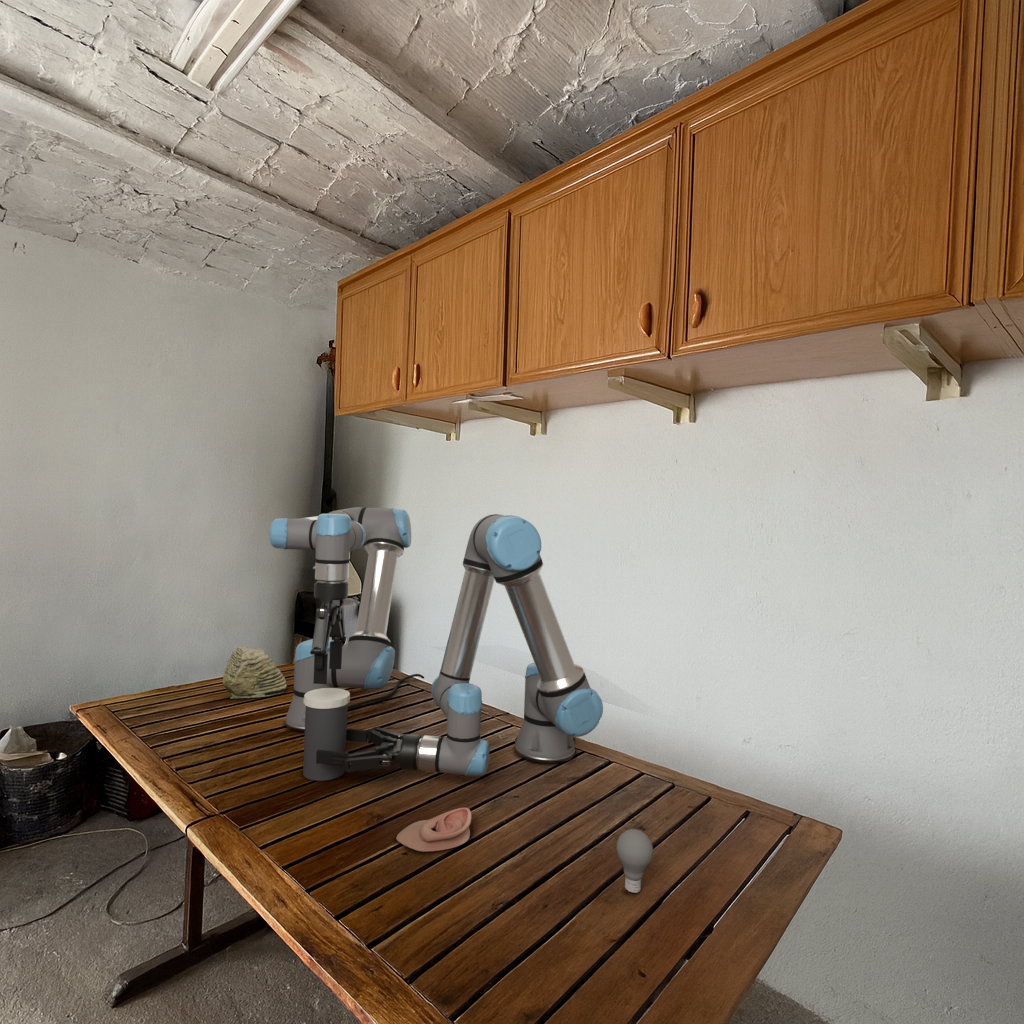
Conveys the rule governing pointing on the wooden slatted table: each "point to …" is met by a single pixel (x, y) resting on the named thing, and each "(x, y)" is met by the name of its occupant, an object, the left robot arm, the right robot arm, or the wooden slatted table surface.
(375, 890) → the wooden slatted table surface
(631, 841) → the light bulb
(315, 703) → the lid
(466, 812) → the anatomical model
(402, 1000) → the wooden slatted table surface
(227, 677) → the fossil
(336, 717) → the jar
